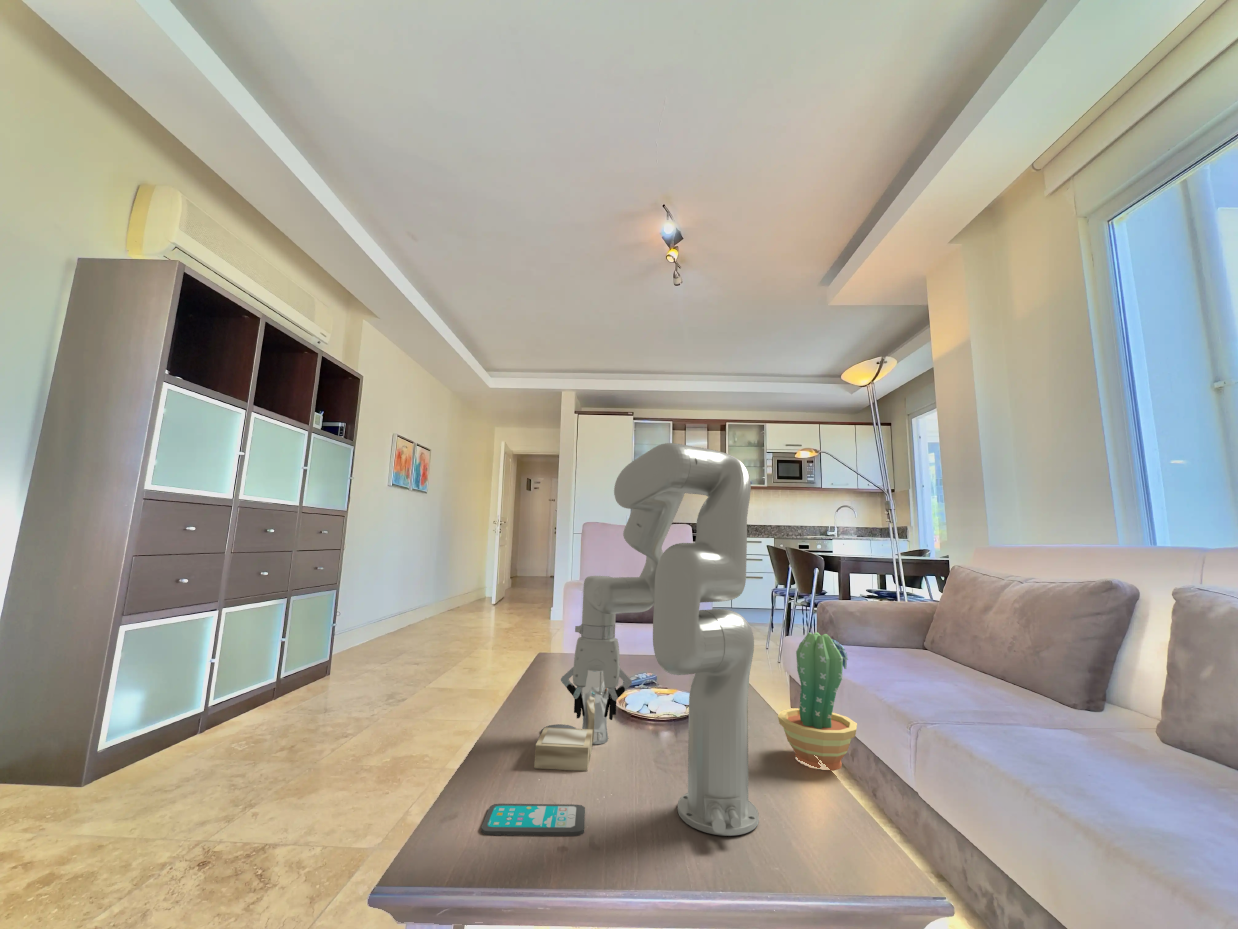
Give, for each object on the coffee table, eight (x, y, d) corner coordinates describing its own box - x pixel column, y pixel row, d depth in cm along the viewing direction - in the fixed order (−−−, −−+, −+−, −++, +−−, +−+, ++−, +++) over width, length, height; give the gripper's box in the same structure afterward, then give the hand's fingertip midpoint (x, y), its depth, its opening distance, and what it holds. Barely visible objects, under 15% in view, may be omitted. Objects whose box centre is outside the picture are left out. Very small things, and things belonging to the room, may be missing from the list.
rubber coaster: (575, 740, 111) (575, 737, 111) (538, 738, 112) (538, 736, 112) (579, 727, 119) (579, 725, 119) (544, 725, 120) (544, 723, 120)
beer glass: (611, 734, 115) (613, 664, 118) (608, 746, 108) (610, 671, 111) (581, 732, 116) (583, 663, 118) (575, 744, 109) (578, 670, 112)
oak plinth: (587, 770, 96) (588, 747, 97) (534, 768, 97) (535, 744, 97) (591, 750, 106) (592, 728, 107) (543, 747, 107) (544, 726, 107)
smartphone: (584, 831, 75) (479, 830, 74) (583, 839, 75) (479, 838, 74) (585, 803, 83) (491, 801, 83) (584, 809, 83) (490, 808, 82)
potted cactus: (869, 782, 96) (863, 642, 100) (782, 772, 99) (780, 636, 103) (849, 751, 111) (845, 630, 114) (774, 743, 114) (773, 625, 118)
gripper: (557, 633, 112) (552, 721, 110) (636, 636, 112) (634, 725, 109) (562, 628, 120) (558, 710, 117) (636, 631, 119) (634, 713, 116)
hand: (594, 716), depth 113 cm, fingers closed on beer glass, 6 cm apart
